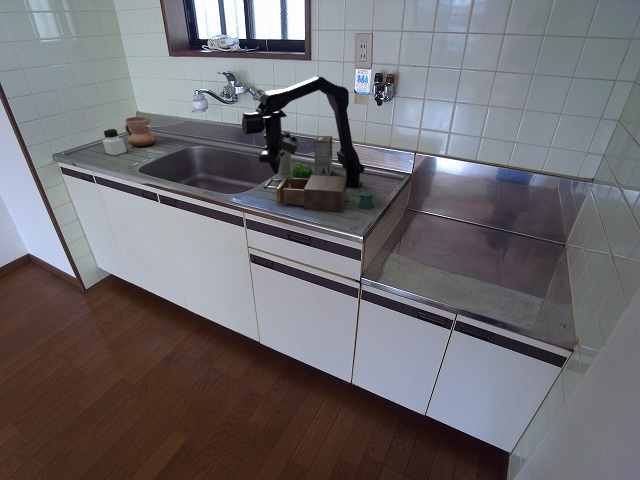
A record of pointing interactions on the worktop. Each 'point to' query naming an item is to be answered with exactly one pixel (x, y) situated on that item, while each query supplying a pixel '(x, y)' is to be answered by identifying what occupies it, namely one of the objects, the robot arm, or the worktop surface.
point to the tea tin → (366, 199)
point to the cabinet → (325, 193)
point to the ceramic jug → (139, 131)
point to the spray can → (285, 163)
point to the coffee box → (323, 155)
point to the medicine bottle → (113, 142)
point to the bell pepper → (302, 171)
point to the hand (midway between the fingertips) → (276, 173)
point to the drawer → (289, 190)
